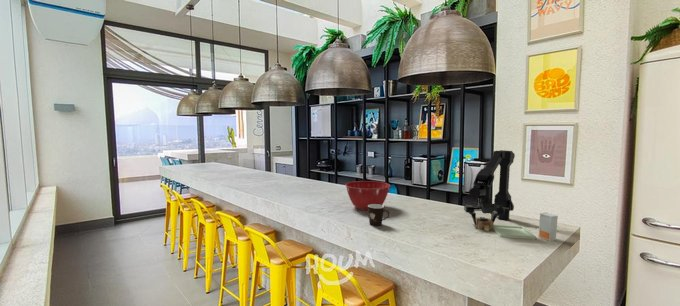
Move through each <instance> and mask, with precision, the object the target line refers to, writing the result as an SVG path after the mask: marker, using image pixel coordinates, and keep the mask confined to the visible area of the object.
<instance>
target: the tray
mask: <svg viewBox="0 0 680 306" xmlns="http://www.w3.org/2000/svg"><path fill="white" fill-rule="evenodd" d="M492 231H493V232H495V233H496V234H497V235H498V237H500V238H514V239H524V240H525V239H527V240H528V239H529V240H537V236H536V235H535V234H533V232H531V231H530V230H528V229H527V228H526V227H524V226H522V225H506V224H505V225H504V224H493V230H492Z"/></svg>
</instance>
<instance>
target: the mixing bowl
mask: <svg viewBox="0 0 680 306" xmlns="http://www.w3.org/2000/svg"><path fill="white" fill-rule="evenodd" d="M345 187H346V191H347V194H348V197H349V199H350V201H351V204H352V205H353V206H354V207H355V208H357V210H361V211H368V205H371V204H379V205H383V204H384V203H385V201H386V199H387V196H388V193H389V190H390V187H391V184H390V183H387V182H382V181H376V180H375V181H374V180H358V181H349V182H347V183H345Z"/></svg>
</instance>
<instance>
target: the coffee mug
mask: <svg viewBox="0 0 680 306" xmlns="http://www.w3.org/2000/svg"><path fill="white" fill-rule="evenodd" d="M367 211H368V220H369V226H372V227H381V226H382V224H383V221H384V220H386V219H388V218H389V217H390V212H389V210H387V209H385V205H383V204H382V205H379V204H371V205H368V210H367ZM384 212H386V213H387V216H386V217H384Z"/></svg>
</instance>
